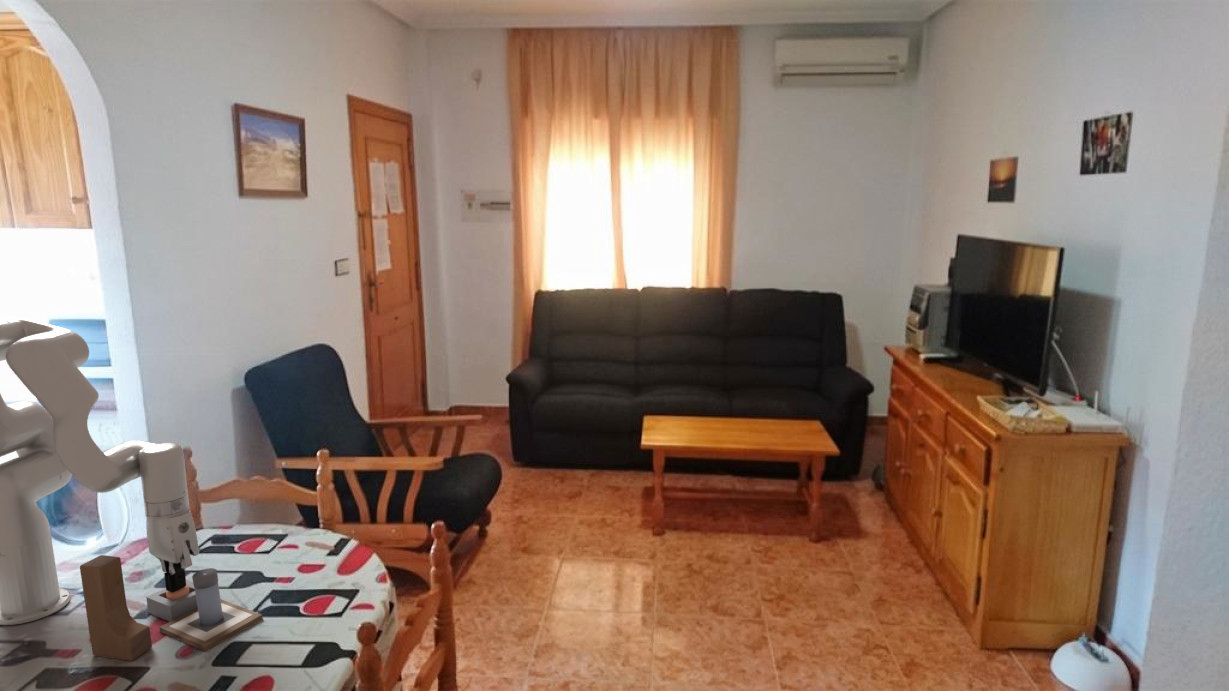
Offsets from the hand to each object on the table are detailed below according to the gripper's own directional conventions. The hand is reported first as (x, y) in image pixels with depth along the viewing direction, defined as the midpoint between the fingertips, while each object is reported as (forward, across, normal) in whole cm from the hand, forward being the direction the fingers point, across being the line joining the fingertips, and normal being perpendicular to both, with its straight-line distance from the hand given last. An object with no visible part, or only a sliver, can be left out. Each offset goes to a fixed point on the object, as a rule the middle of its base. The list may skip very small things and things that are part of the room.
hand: (176, 588), depth 145 cm
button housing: (+4, 0, 0) cm, 4 cm away
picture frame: (+4, -12, +1) cm, 13 cm away
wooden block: (+5, -6, +14) cm, 16 cm away
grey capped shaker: (+3, -12, +1) cm, 13 cm away
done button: (+3, 0, 0) cm, 3 cm away
